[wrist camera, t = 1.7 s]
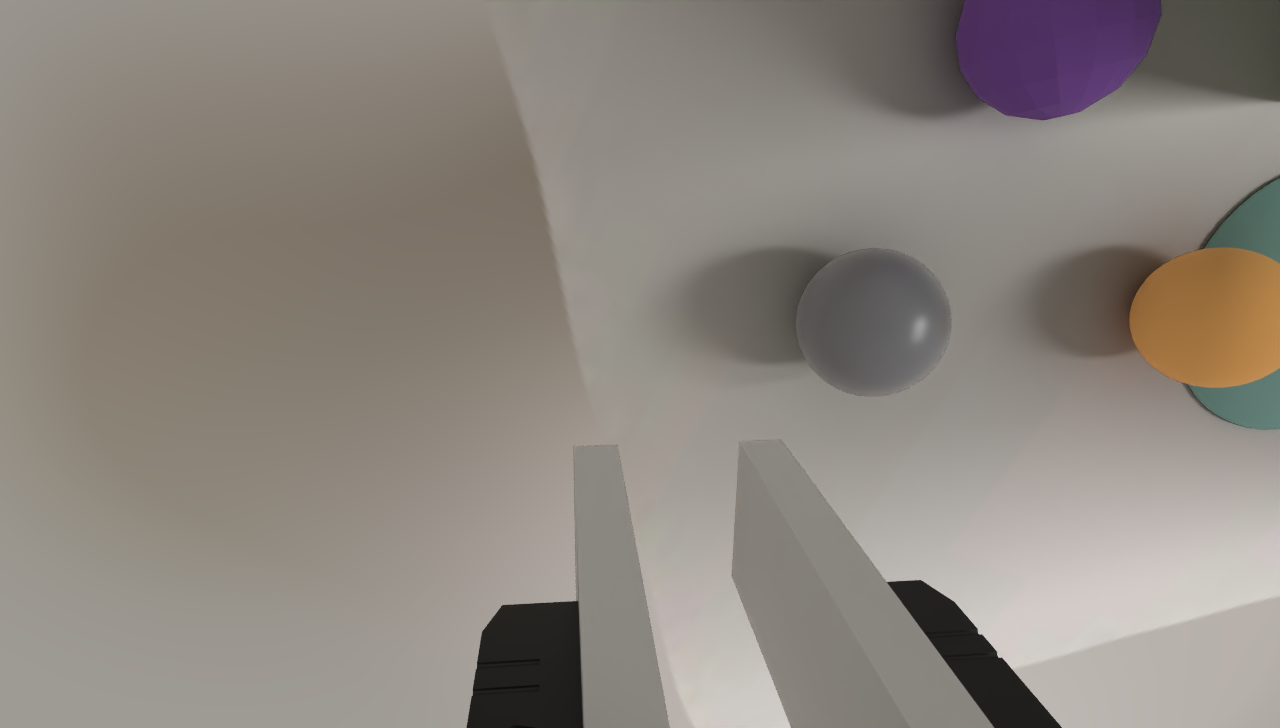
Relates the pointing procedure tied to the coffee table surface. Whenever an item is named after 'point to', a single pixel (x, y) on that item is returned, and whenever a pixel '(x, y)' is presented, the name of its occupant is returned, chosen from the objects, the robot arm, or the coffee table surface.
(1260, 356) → the orange ball
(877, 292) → the gray ball
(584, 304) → the coffee table surface
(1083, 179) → the coffee table surface
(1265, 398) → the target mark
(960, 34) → the kendama
